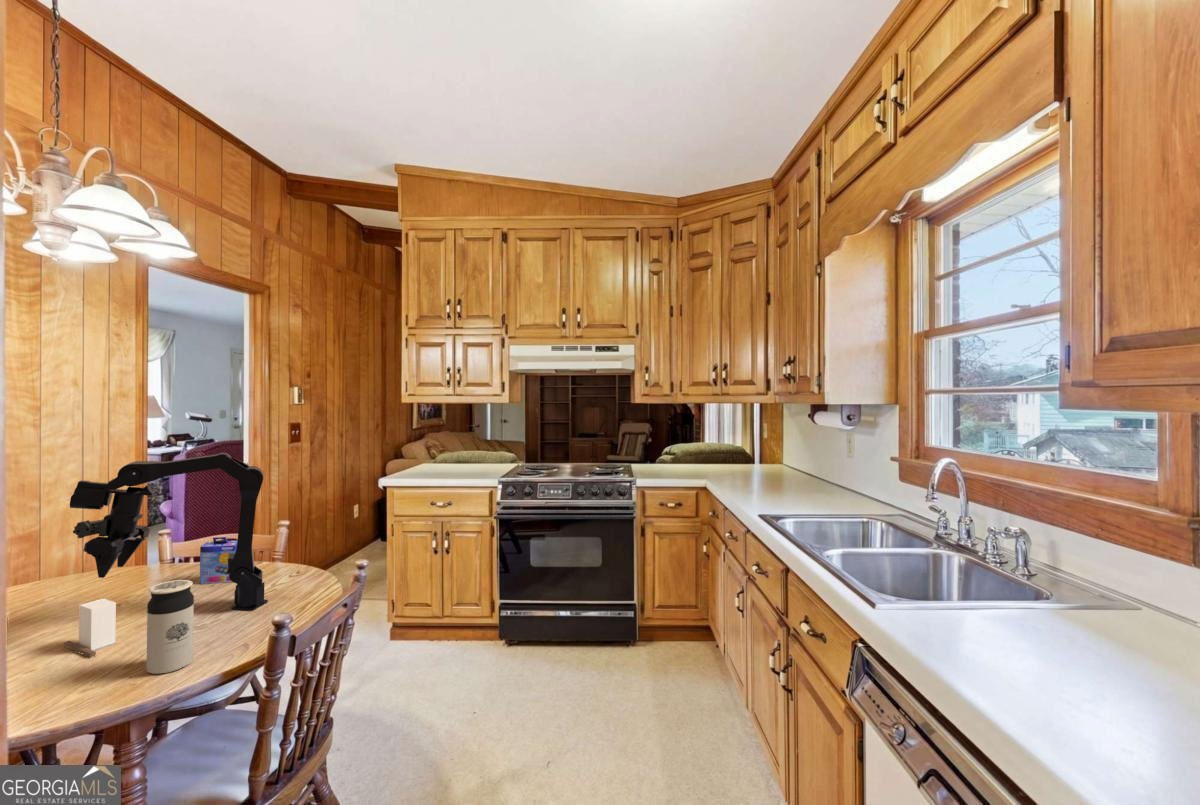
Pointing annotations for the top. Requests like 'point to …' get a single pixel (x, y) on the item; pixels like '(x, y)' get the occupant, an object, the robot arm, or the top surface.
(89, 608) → the plain white block
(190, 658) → the beige jar
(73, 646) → the strip
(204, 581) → the ink cartridge box
